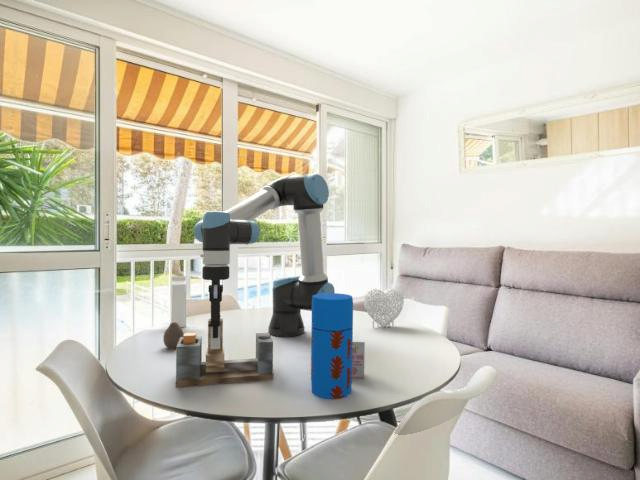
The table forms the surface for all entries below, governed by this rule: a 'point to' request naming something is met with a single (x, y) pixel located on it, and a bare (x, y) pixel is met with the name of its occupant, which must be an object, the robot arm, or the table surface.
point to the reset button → (189, 338)
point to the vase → (172, 335)
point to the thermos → (331, 345)
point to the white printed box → (358, 360)
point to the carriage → (215, 353)
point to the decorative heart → (383, 306)
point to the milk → (178, 300)
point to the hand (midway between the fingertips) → (215, 346)
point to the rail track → (225, 378)
